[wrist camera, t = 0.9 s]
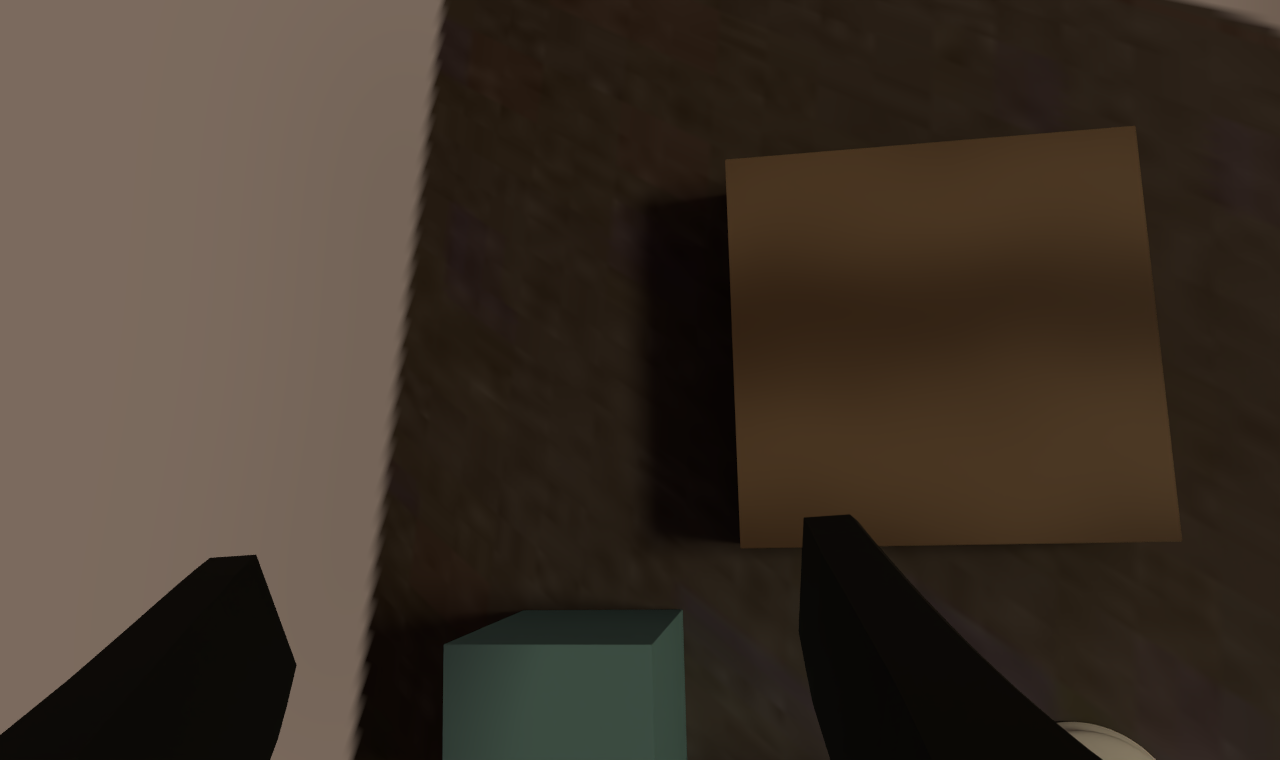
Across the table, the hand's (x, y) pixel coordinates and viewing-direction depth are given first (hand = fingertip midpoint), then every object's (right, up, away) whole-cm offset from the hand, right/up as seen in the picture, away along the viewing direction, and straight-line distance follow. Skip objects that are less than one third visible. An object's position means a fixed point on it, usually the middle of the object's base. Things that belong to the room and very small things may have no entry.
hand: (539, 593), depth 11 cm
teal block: (0, -6, +12) cm, 13 cm away
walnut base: (+9, +4, +12) cm, 15 cm away
